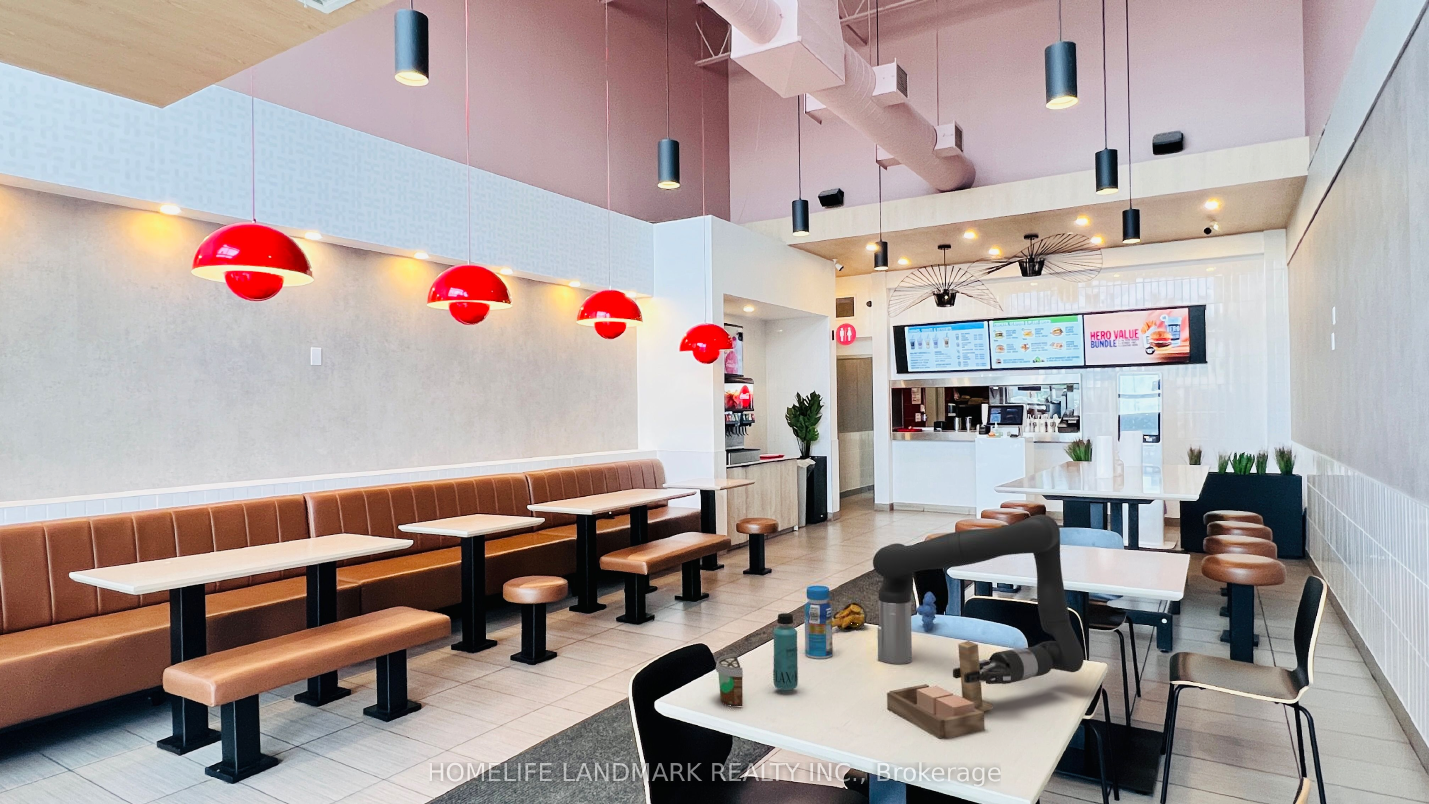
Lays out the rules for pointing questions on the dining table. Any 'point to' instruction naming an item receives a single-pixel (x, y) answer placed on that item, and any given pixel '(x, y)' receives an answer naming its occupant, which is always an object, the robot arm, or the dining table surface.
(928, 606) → the grapes
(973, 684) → the wooden post on base
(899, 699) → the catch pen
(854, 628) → the fried shrimp in bowl
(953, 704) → the salmon pink block
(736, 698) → the food container
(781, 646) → the beverage bottle
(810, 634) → the beverage bottle
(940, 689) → the tile
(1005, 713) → the dining table surface
